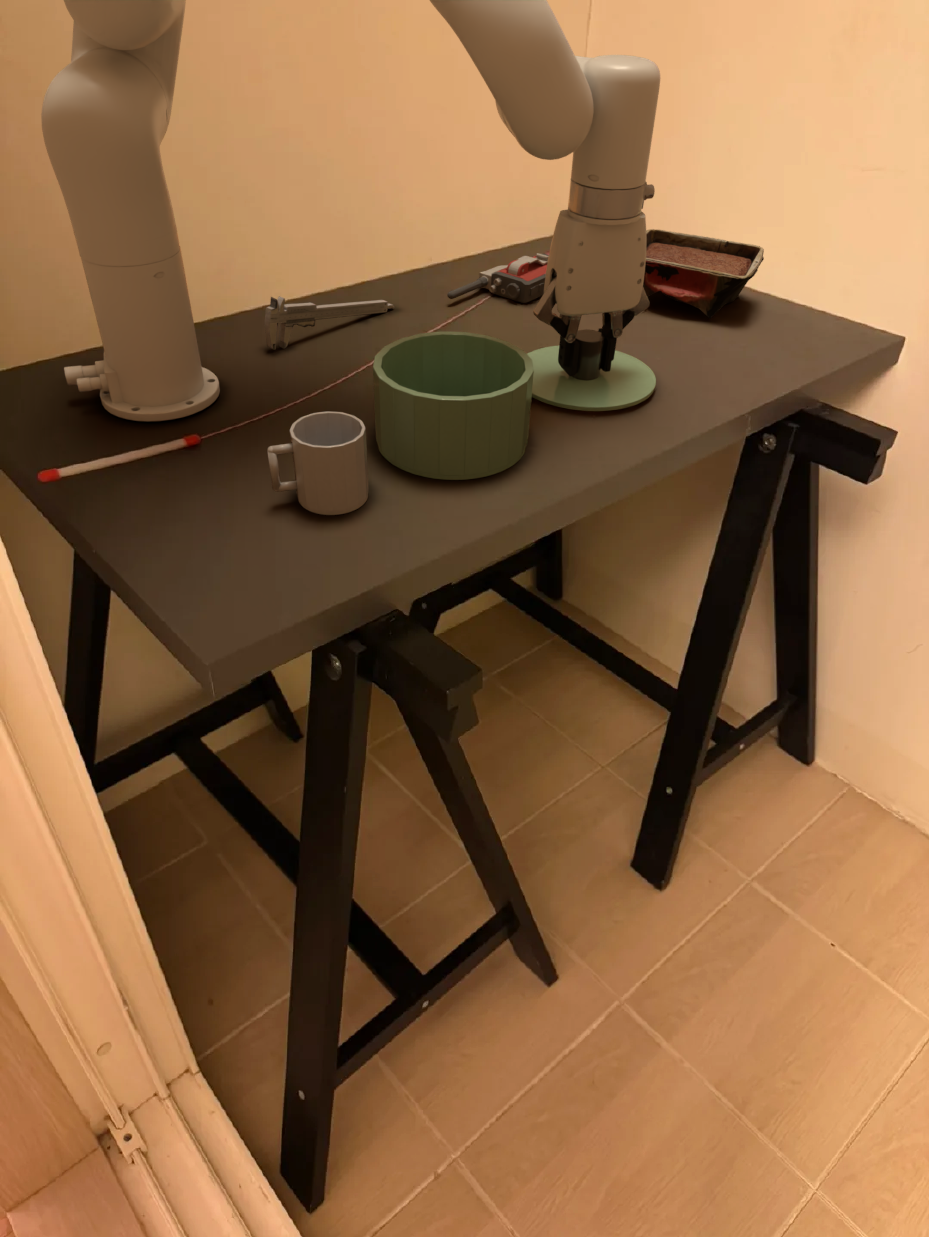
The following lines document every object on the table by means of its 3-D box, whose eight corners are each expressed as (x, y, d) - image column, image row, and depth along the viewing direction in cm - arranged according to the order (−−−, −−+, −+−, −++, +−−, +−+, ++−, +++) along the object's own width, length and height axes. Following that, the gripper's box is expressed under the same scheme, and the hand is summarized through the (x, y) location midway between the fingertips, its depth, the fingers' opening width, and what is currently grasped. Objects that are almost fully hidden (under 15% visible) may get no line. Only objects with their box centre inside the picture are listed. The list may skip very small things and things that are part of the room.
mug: (359, 473, 86) (355, 407, 81) (375, 508, 81) (372, 441, 76) (269, 486, 83) (260, 419, 79) (280, 523, 79) (271, 455, 74)
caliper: (272, 353, 106) (266, 302, 102) (267, 350, 107) (260, 299, 103) (394, 309, 118) (393, 262, 114) (389, 307, 118) (388, 259, 114)
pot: (399, 490, 83) (396, 409, 78) (361, 415, 94) (357, 340, 89) (549, 467, 87) (557, 388, 82) (496, 398, 98) (500, 324, 93)
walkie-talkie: (528, 267, 131) (442, 304, 119) (530, 237, 129) (442, 271, 117) (576, 282, 127) (493, 321, 115) (580, 250, 125) (494, 287, 113)
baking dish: (720, 345, 116) (751, 271, 110) (601, 297, 121) (624, 222, 114) (747, 318, 127) (777, 249, 120) (637, 274, 131) (659, 205, 125)
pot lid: (544, 424, 94) (549, 375, 90) (492, 361, 106) (495, 315, 102) (680, 405, 98) (690, 357, 95) (616, 346, 110) (622, 302, 106)
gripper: (660, 185, 94) (634, 348, 106) (516, 194, 90) (506, 363, 102) (695, 205, 89) (663, 374, 101) (544, 216, 84) (530, 391, 96)
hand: (584, 367), depth 101 cm, fingers closed on pot lid, 3 cm apart
